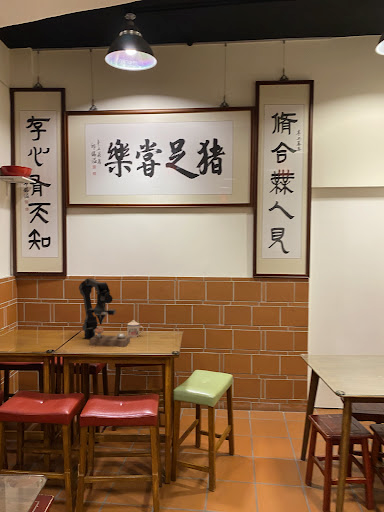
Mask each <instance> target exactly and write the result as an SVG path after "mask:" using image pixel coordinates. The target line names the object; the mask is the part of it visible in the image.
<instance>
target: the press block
mask: <svg viewBox="0 0 384 512" xmlns="http://www.w3.org/2000/svg"><path fill="white" fill-rule="evenodd" d="M129 342H131V337H130V336H127V335H125V338H124V339H118V338H117V335H105V334H101V338H98V334H95V336H94V337H92V338H90V339H89V346H103V347H121V348H123V347H125V348H126V346H127V345H129V344H130V343H129ZM128 343H129V344H128Z"/></svg>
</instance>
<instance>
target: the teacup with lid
mask: <svg viewBox="0 0 384 512" xmlns="http://www.w3.org/2000/svg"><path fill="white" fill-rule="evenodd" d="M126 325H127V327H126V329H127V330H126V332H127V333H126V334H127V335H126V336H130V338H138V337H139V336H140V334H142V333H143V332H144V326H142V325H141V324H140V322H137V321H136V320H135V319H133V320H131V321H130V322H128V323H127V324H126ZM140 328H142V329H141V331H140ZM137 336H138V337H137Z"/></svg>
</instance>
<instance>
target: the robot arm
mask: <svg viewBox="0 0 384 512" xmlns="http://www.w3.org/2000/svg"><path fill="white" fill-rule="evenodd" d="M93 288H94V290H95V291H96V292H95V294H96V304H95V307H94V308H93V305H92V301H91V300H92V299H91V293H92V292H93V291H92V289H93ZM78 290H79V293H80V295H81V296H82V299H83V305H84V310H85V311H84V312H85V317H84V321H83V322H84V323H83V325H82V330H83V331H84V334H83V335H84V337H83V339H84V340H90V338H92V337H94V336H95V335H96V332H95V329H96V328H98V323H99V324H100V325H102V324H103V322H104V319H105V317H106V316H107V315H109V316H114V315H116V312H117V310H116V309H111V308H109V309H108V310H107V308H106V307H107V306H106V304H111V303H112V302H113V299H114V298H113V296H112V294H111V292H110V291H111V290H110V288H109V285H108V283H107V282H101V281H99V280H95V279H94V278H92V277H91V278H90V277H89V278H85V279H84V280H83V281H82V282H80V284H79V286H78ZM97 320H98V321H97Z"/></svg>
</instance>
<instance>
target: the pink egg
mask: <svg viewBox="0 0 384 512" xmlns="http://www.w3.org/2000/svg"><path fill="white" fill-rule="evenodd" d="M102 333H104V328H103V327H97V328H96V329H95V334H97V335H98V338H101V335H102Z"/></svg>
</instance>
